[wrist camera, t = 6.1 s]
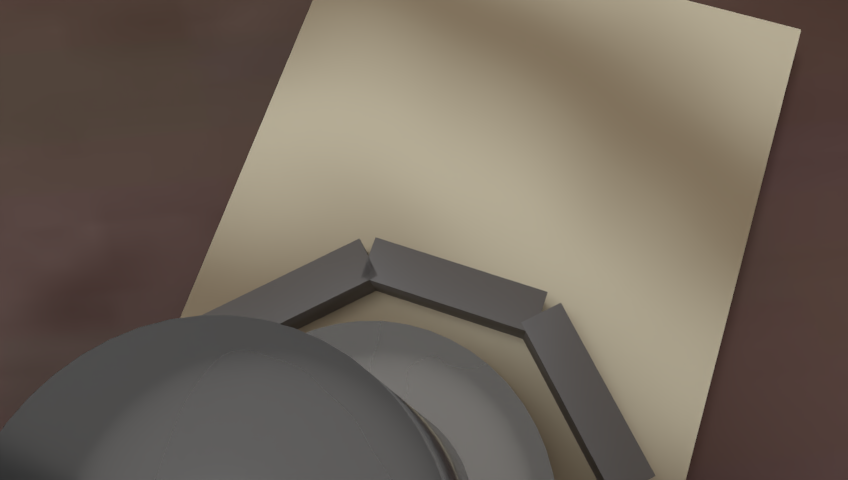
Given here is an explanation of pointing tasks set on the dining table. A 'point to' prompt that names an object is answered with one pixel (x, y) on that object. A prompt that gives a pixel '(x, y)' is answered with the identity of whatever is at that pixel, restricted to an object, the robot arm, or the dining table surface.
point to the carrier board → (519, 200)
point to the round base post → (274, 408)
